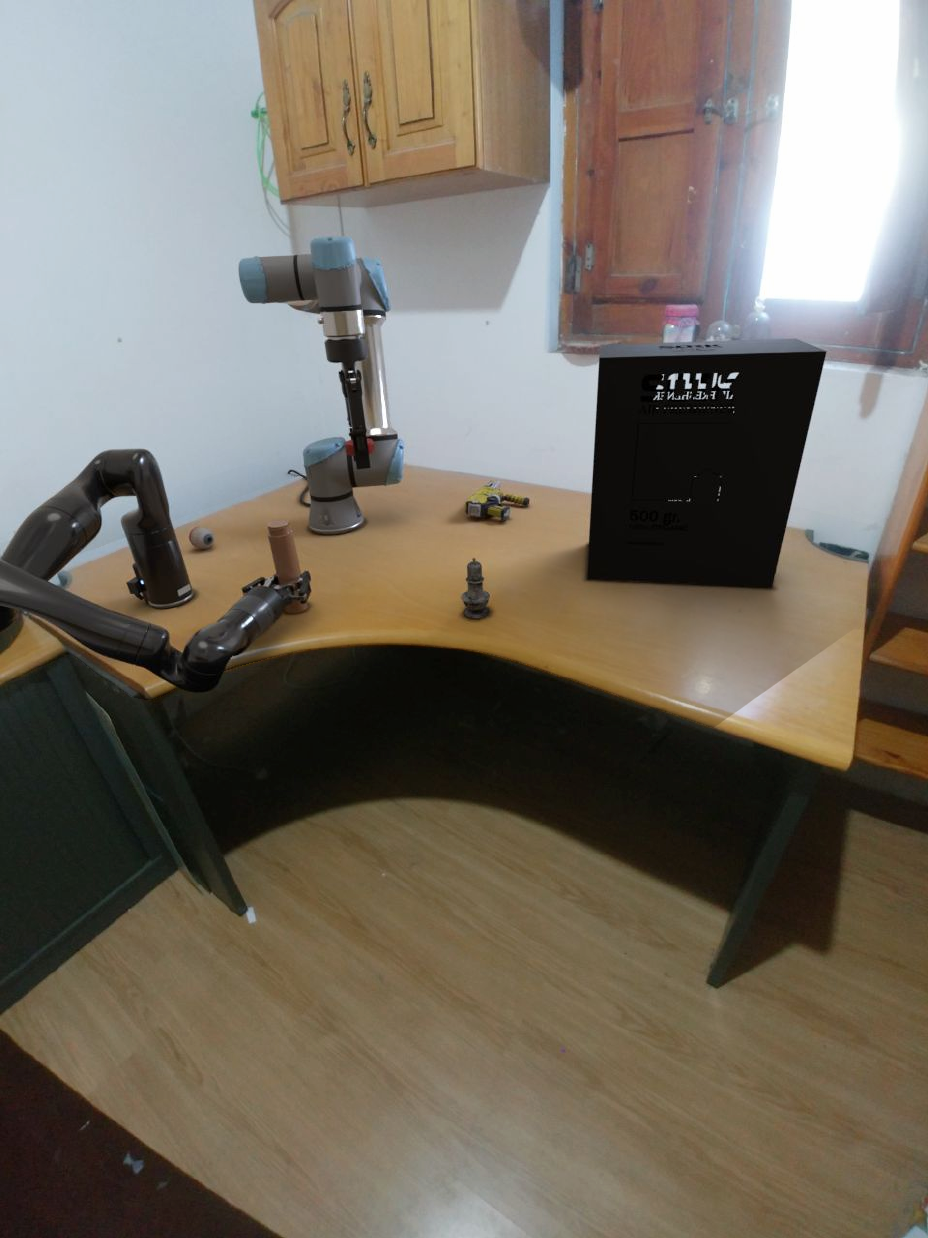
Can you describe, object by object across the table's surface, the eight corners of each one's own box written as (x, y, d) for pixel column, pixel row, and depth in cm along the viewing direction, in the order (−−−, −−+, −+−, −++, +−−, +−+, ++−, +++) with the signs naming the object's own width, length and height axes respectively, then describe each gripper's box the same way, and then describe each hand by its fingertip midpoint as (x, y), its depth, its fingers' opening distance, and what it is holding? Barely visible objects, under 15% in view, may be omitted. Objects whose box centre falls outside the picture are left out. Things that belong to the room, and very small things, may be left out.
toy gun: (537, 485, 181) (489, 478, 185) (516, 509, 160) (463, 500, 164) (535, 500, 183) (488, 493, 187) (515, 526, 163) (463, 517, 167)
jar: (289, 616, 125) (270, 529, 116) (281, 607, 129) (261, 523, 119) (311, 608, 127) (294, 523, 118) (302, 600, 131) (285, 517, 121)
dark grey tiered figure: (488, 619, 119) (486, 564, 113) (459, 618, 120) (455, 563, 114) (493, 605, 124) (491, 551, 118) (465, 604, 125) (462, 550, 119)
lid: (380, 449, 121) (378, 439, 120) (363, 456, 116) (361, 446, 115) (357, 447, 123) (356, 437, 122) (340, 454, 119) (338, 443, 118)
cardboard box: (752, 548, 142) (795, 338, 119) (772, 587, 124) (826, 351, 102) (589, 543, 149) (600, 344, 127) (586, 579, 132) (599, 357, 110)
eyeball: (203, 554, 156) (196, 532, 153) (187, 550, 159) (181, 528, 156) (222, 546, 160) (216, 524, 157) (206, 542, 163) (200, 521, 160)
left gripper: (225, 628, 116) (269, 587, 130) (293, 633, 113) (330, 591, 127) (215, 593, 112) (261, 556, 127) (285, 598, 109) (324, 559, 123)
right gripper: (321, 334, 116) (340, 454, 128) (326, 343, 101) (346, 479, 112) (360, 331, 118) (375, 450, 129) (370, 339, 102) (386, 474, 114)
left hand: (296, 574), depth 127 cm, fingers closed on jar, 5 cm apart
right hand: (362, 463), depth 121 cm, fingers closed on lid, 5 cm apart
